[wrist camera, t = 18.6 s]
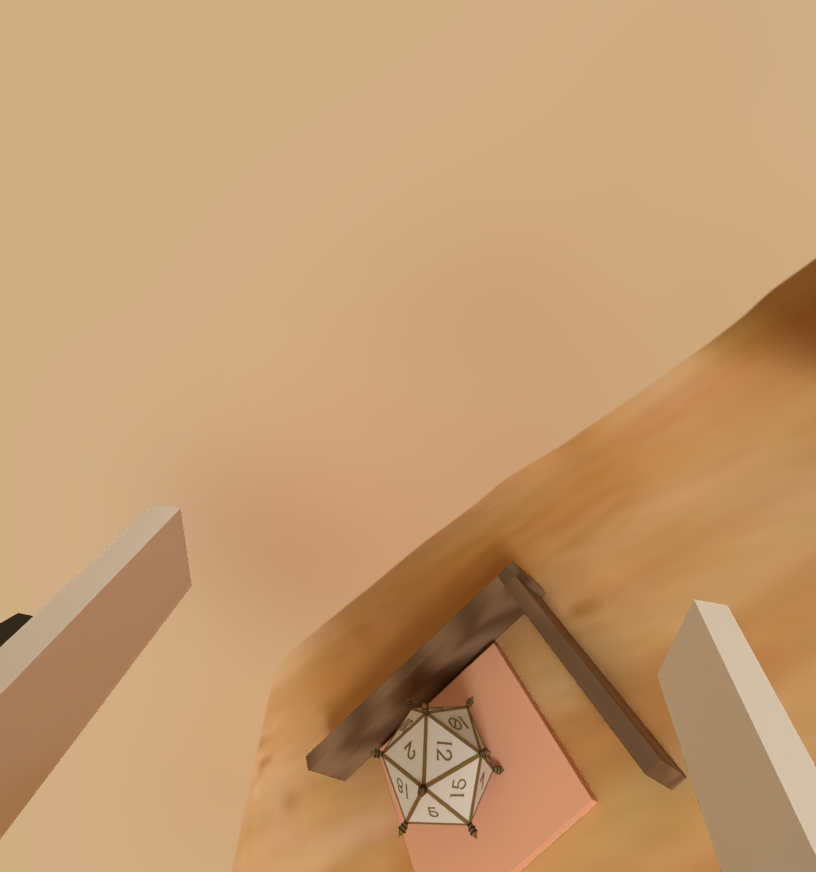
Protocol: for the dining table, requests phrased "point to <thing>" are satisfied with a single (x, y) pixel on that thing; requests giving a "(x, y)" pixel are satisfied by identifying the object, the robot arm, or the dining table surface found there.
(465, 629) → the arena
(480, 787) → the game die
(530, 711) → the mat
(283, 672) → the dining table surface
